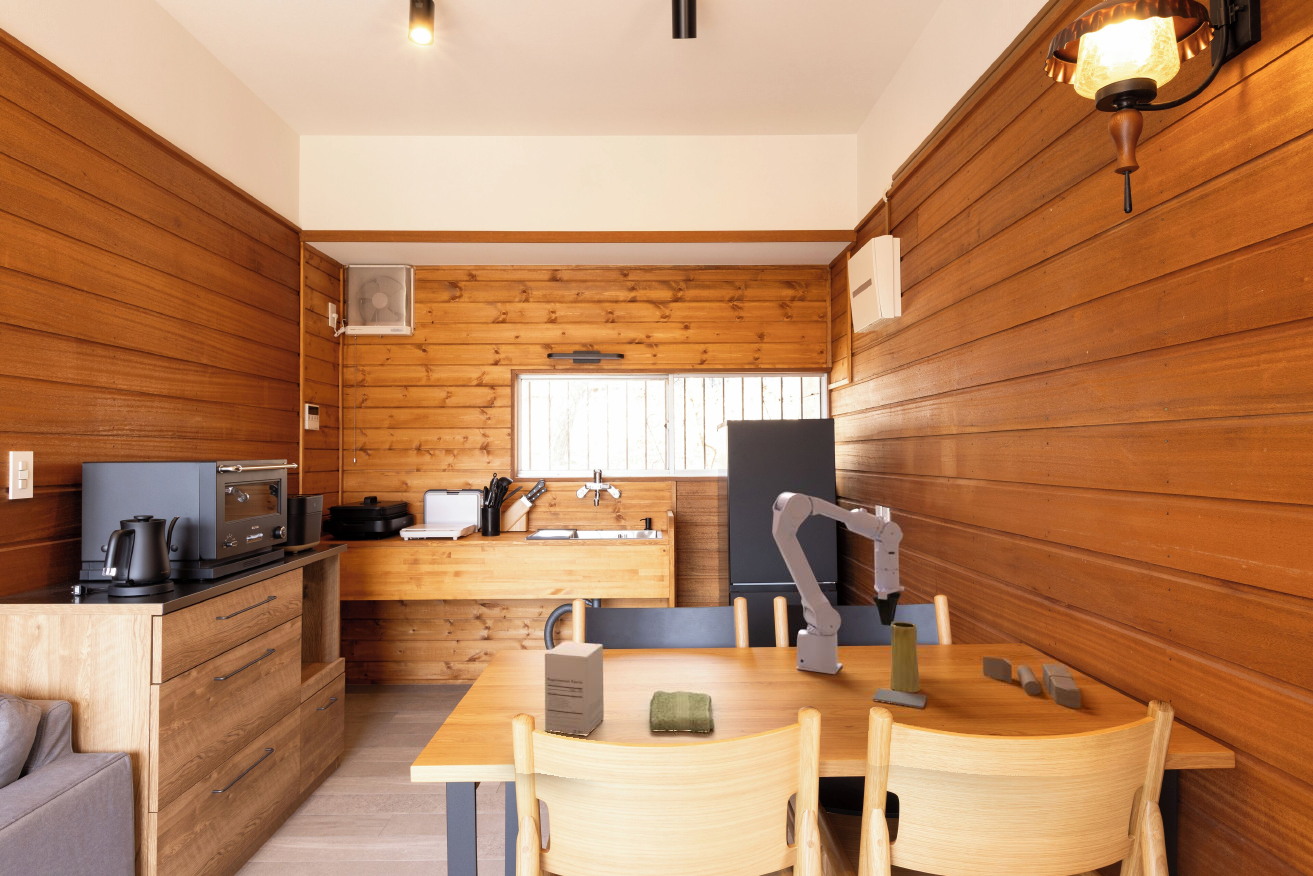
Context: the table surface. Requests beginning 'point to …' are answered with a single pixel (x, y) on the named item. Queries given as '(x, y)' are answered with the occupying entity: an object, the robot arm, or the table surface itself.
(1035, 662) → the table surface
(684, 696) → the washcloth
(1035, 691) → the wooden block set
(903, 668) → the vase
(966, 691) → the table surface
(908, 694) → the mat
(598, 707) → the supplement box
